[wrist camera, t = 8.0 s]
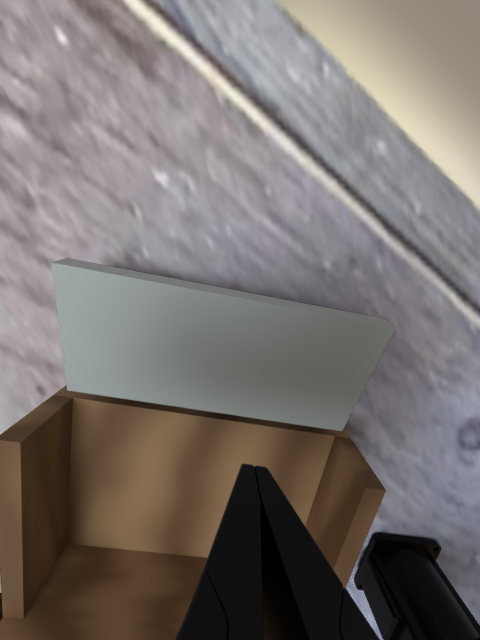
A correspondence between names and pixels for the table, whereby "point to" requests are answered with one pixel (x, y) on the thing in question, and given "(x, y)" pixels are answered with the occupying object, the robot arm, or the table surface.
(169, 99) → the table surface
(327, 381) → the panel
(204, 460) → the tray
